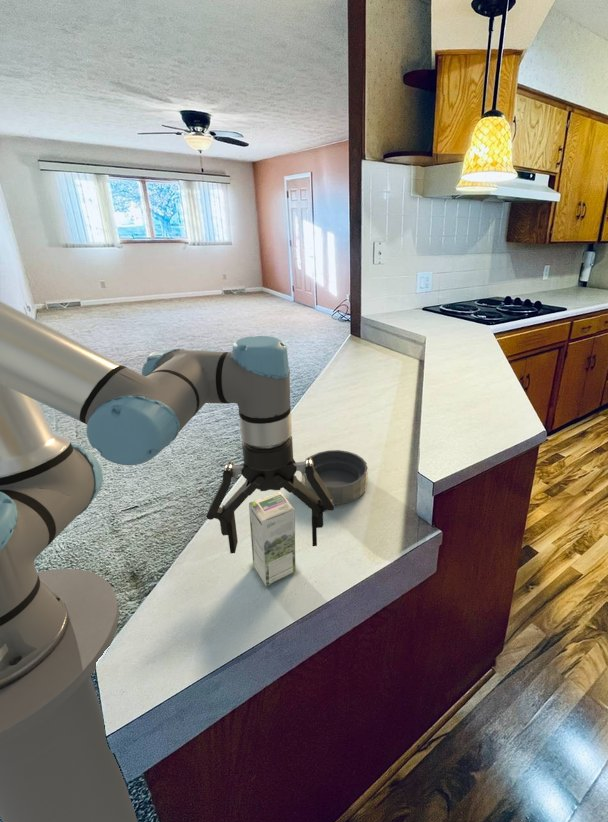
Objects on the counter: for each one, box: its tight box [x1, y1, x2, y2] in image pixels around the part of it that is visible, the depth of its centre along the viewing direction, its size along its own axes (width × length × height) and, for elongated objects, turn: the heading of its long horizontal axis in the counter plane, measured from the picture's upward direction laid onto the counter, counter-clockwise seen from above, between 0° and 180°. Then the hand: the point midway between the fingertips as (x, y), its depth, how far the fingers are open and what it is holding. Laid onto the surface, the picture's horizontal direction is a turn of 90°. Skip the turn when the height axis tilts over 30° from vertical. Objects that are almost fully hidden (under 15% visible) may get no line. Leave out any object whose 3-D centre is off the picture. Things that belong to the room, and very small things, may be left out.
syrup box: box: [248, 491, 296, 587], centre depth 71 cm, size 6×6×14 cm
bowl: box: [301, 449, 369, 505], centre depth 96 cm, size 15×15×5 cm
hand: (275, 544), depth 71 cm, fingers open, 13 cm apart
